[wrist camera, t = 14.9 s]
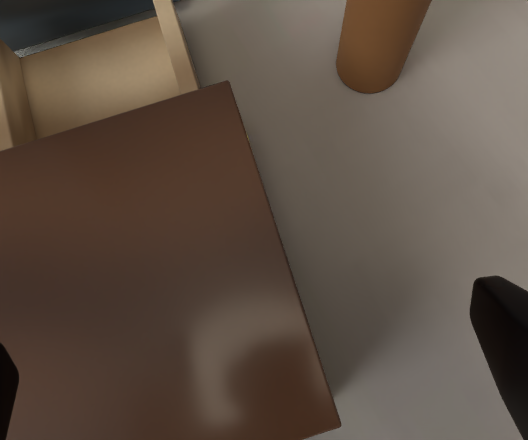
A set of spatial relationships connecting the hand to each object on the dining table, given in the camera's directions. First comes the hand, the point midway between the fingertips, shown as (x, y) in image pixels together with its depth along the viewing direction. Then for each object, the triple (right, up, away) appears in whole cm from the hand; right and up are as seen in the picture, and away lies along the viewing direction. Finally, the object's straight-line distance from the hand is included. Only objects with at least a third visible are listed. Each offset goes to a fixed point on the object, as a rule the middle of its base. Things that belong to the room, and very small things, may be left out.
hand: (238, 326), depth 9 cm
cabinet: (-4, -2, +14) cm, 14 cm away
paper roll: (+6, +10, +16) cm, 20 cm away
